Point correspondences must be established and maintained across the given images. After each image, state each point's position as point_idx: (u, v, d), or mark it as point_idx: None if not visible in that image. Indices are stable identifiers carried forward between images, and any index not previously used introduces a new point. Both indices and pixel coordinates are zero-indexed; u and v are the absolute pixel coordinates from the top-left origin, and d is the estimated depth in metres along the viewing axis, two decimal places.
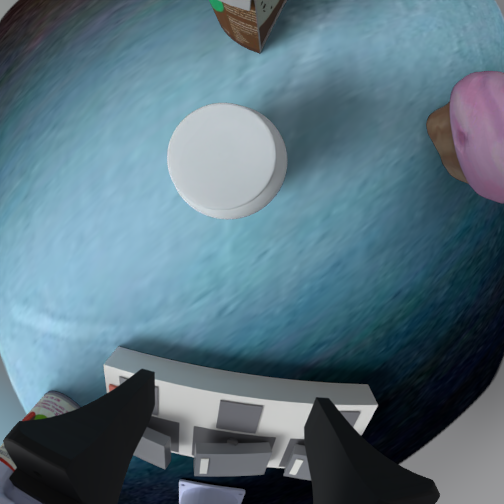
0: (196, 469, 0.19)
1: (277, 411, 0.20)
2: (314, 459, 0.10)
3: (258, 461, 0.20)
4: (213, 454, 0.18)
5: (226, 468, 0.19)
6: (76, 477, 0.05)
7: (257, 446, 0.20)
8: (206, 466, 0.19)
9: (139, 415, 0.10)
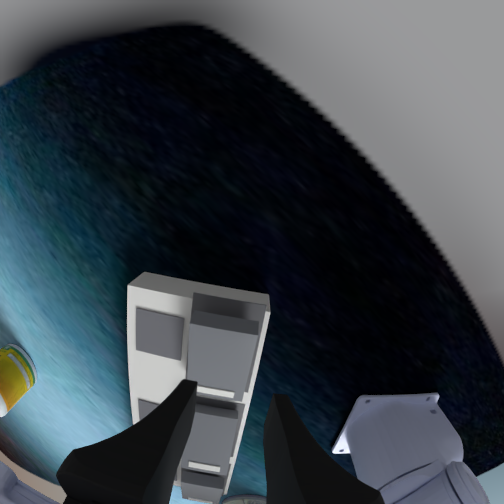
0: (212, 472, 0.18)
1: (143, 388, 0.19)
2: (269, 457, 0.10)
3: (202, 423, 0.18)
4: None
5: (212, 451, 0.18)
6: (147, 503, 0.05)
7: None
8: (205, 465, 0.18)
9: (185, 427, 0.10)
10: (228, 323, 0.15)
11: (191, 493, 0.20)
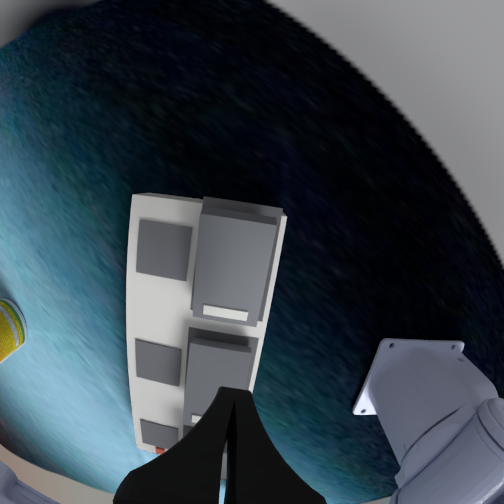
0: None
1: (141, 324, 0.18)
2: (229, 453, 0.10)
3: (209, 360, 0.17)
4: None
5: None
6: None
7: None
8: None
9: (226, 434, 0.10)
10: (243, 216, 0.14)
11: None
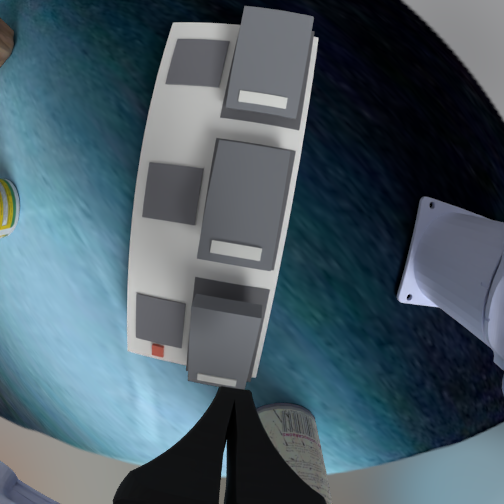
0: (247, 265, 0.14)
1: (160, 141, 0.15)
2: (229, 453, 0.10)
3: (240, 160, 0.14)
4: (201, 231, 0.14)
5: (251, 213, 0.14)
6: None
7: None
8: (237, 246, 0.14)
9: (226, 434, 0.10)
10: None
11: (204, 354, 0.16)
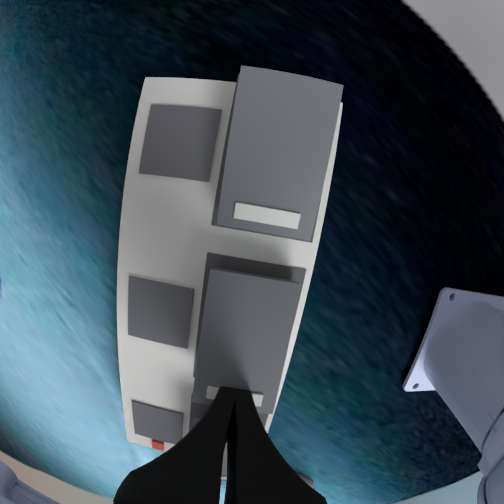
0: None
1: (139, 252, 0.13)
2: (229, 453, 0.10)
3: (238, 297, 0.12)
4: None
5: (251, 359, 0.12)
6: None
7: None
8: None
9: (227, 434, 0.10)
10: None
11: None
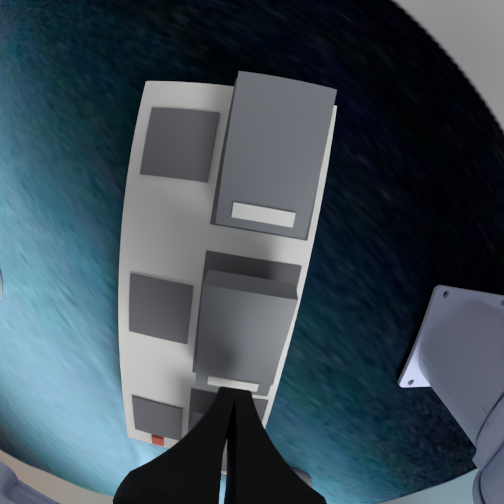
0: None
1: (140, 250, 0.13)
2: (228, 453, 0.10)
3: (233, 309, 0.11)
4: (196, 368, 0.13)
5: (248, 358, 0.12)
6: None
7: None
8: (234, 381, 0.13)
9: (226, 434, 0.10)
10: None
11: None
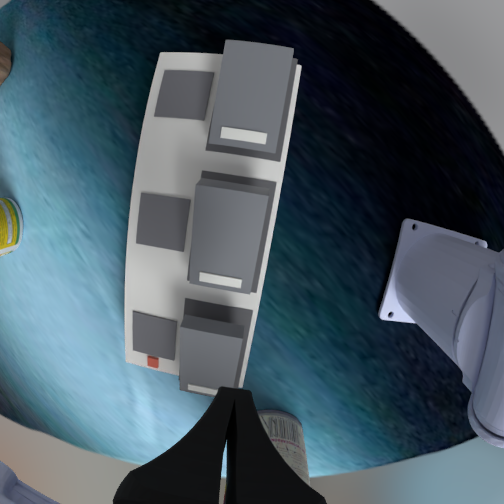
0: (230, 289, 0.17)
1: (151, 173, 0.17)
2: (229, 453, 0.10)
3: (218, 205, 0.15)
4: (190, 264, 0.16)
5: (231, 252, 0.16)
6: None
7: None
8: (221, 277, 0.17)
9: (226, 434, 0.10)
10: None
11: (193, 367, 0.17)
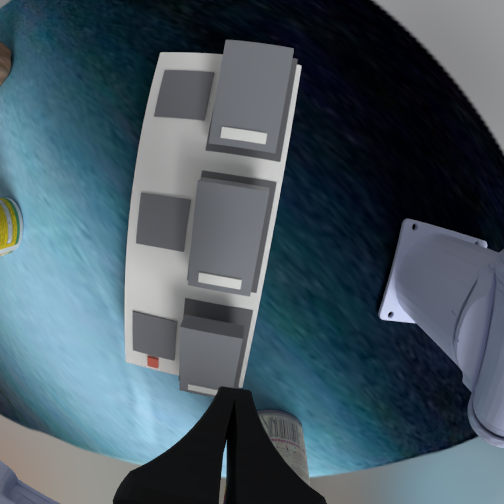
0: (230, 291, 0.17)
1: (151, 173, 0.17)
2: (229, 453, 0.10)
3: (219, 201, 0.15)
4: (189, 264, 0.16)
5: (232, 250, 0.16)
6: None
7: None
8: (220, 277, 0.16)
9: (226, 434, 0.10)
10: None
11: (193, 367, 0.17)
